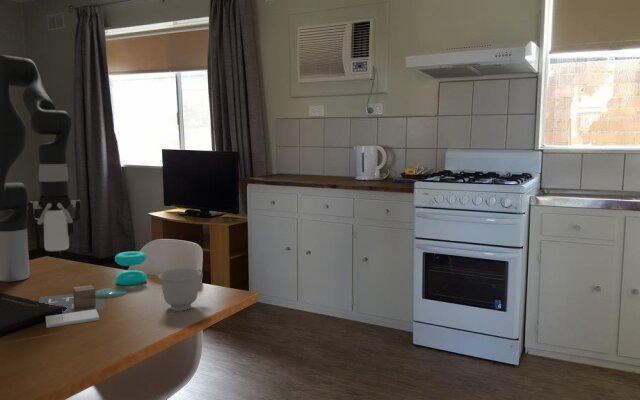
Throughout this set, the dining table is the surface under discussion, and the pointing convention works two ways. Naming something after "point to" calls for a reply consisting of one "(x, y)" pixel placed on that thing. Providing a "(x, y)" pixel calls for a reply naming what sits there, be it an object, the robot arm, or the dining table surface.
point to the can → (55, 231)
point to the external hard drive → (72, 318)
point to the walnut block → (84, 296)
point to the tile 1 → (56, 299)
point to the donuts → (133, 275)
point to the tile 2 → (98, 302)
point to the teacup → (180, 287)
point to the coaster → (110, 292)
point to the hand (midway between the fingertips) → (56, 235)
